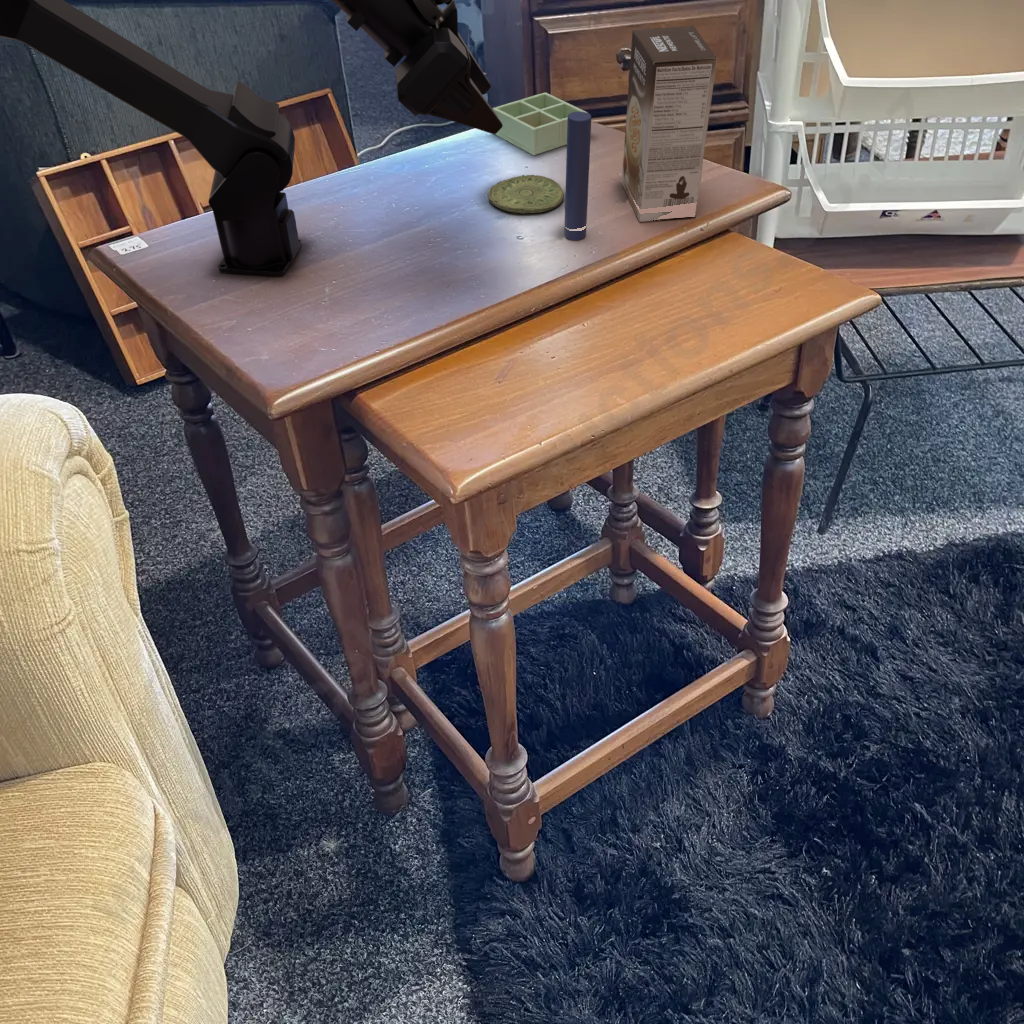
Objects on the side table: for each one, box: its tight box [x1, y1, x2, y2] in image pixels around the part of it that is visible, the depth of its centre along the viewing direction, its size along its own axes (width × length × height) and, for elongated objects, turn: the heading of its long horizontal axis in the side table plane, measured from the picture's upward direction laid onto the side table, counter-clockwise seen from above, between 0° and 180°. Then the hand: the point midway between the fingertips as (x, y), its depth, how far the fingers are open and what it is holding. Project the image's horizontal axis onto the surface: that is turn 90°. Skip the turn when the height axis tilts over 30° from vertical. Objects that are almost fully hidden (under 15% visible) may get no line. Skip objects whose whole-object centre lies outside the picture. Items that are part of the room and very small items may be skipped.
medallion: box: [487, 174, 564, 215], centre depth 105 cm, size 8×8×1 cm
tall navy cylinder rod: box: [563, 111, 592, 241], centre depth 95 cm, size 2×2×12 cm
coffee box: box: [621, 25, 718, 223], centre depth 99 cm, size 9×6×16 cm
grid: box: [491, 91, 589, 156], centre depth 116 cm, size 8×8×3 cm
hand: (493, 109), depth 89 cm, fingers open, 9 cm apart
